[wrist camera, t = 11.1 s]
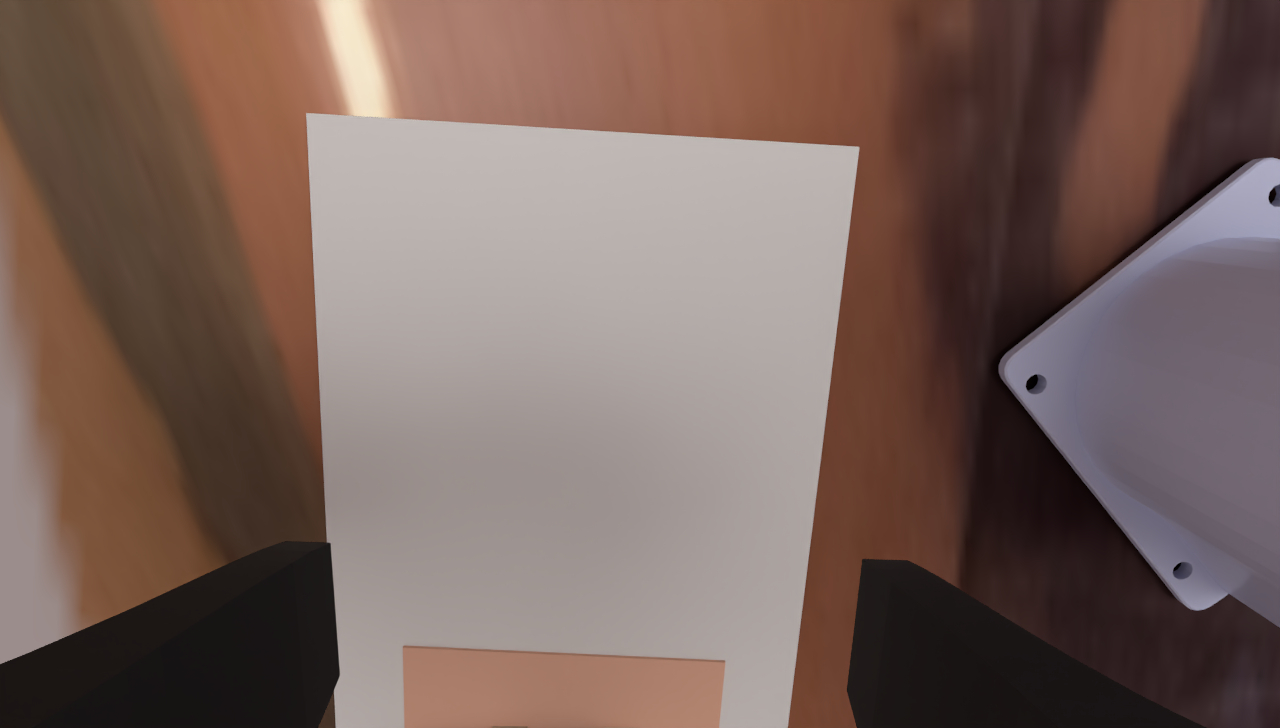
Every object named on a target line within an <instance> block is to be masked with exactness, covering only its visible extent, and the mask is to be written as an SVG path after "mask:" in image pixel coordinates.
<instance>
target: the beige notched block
mask: <svg viewBox="0 0 1280 728" xmlns="http://www.w3.org/2000/svg"><path fill="white" fill-rule="evenodd" d="M492 728H528V726H492ZM604 728H619V727H604Z"/></svg>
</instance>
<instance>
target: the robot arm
mask: <svg viewBox="0 0 1280 728" xmlns="http://www.w3.org/2000/svg"><path fill="white" fill-rule="evenodd" d="M1273 187H1274V188H1275V190H1276V197H1275V200H1274V201H1273V202H1272V203H1271V204H1270V202H1269V199H1268V197H1269V193H1270V191H1271V190H1272V189H1273ZM1035 374H1037V376H1038V382H1037V385H1036V386H1035V387H1034V388H1033V389H1030V390H1027V389H1026V382H1027V380H1028V379H1029V378H1030V377H1031V376H1033V375H1035ZM999 375H1000V377H1001V379H1002V380H1003V382H1004V383H1005V384H1006V385H1007V387H1008V388H1009V389H1010V390H1011V392H1012V393H1013V394H1014V395H1015V397H1016V398H1017V399H1018V400H1019V402H1020V403H1021V404H1022V405H1023V407H1024V408H1025V409H1026V410H1027V412H1028V413H1029V414H1030V416H1031V417H1032V418H1033V419H1034V421H1035V422H1036V423H1037V424H1038V426H1039V427H1040V428H1041V429H1042V431H1043V432H1044V433H1045V434H1046V436H1047V437H1048V438H1049V439H1050V441H1051V442H1052V443H1053V444H1054V446H1055V447H1056V448H1057V449H1058V451H1059V452H1060V453H1061V454H1062V456H1063V457H1064V458H1065V459H1066V461H1067V462H1068V463H1069V464H1070V466H1071V467H1072V468H1073V469H1074V471H1075V472H1076V473H1077V474H1078V476H1079V477H1080V478H1081V480H1082V481H1083V482H1084V483H1085V485H1086V486H1087V487H1088V488H1089V490H1090V491H1091V492H1092V493H1093V495H1094V496H1095V497H1096V498H1097V500H1098V501H1099V502H1100V503H1101V505H1102V506H1103V507H1104V508H1105V510H1106V511H1107V512H1108V513H1109V515H1110V516H1111V517H1112V518H1113V520H1114V521H1115V522H1116V523H1117V525H1118V526H1119V527H1120V528H1121V530H1122V531H1123V532H1124V533H1125V535H1126V536H1127V537H1128V538H1129V540H1130V541H1131V542H1132V544H1133V545H1134V546H1135V547H1136V549H1137V550H1138V551H1139V552H1140V554H1141V555H1142V556H1143V557H1144V559H1145V560H1146V561H1147V562H1148V564H1149V565H1150V566H1151V567H1152V569H1153V570H1154V571H1155V572H1156V574H1157V575H1158V576H1159V577H1160V579H1161V580H1162V581H1163V582H1164V584H1165V585H1166V586H1167V587H1168V589H1169V590H1170V591H1171V592H1172V594H1173V595H1174V596H1175V597H1176V599H1177V600H1179V601H1180V602H1181V603H1182V604H1184V605H1185V606H1186V607H1188V608H1189V609H1192V610H1196V611H1197V610H1204V609H1206V608H1208V607H1210V606H1212V605H1213V604H1215V603H1216V602H1218V601H1219V600H1221V599H1222V598H1224V597H1225V596H1226V595H1228V594H1230V595H1232V596H1233V597H1235V598H1236V599H1238V600H1239V601H1241V602H1242V603H1244V604H1245V605H1247V606H1248V607H1250V608H1251V609H1253V610H1254V611H1256V612H1257V613H1259V614H1260V615H1262V616H1263V617H1265V618H1266V619H1267V620H1269V621H1270V622H1272V623H1273V624H1275V625H1276V626H1278V627H1279V628H1280V160H1279V159H1276V158H1260V159H1254V160H1252V161H1250V162H1248V163H1246V164H1245V165H1244V166H1242V167H1241V168H1240V169H1239V170H1237V171H1236V172H1235V173H1233V174H1232V175H1231V176H1230V177H1228V178H1227V179H1226V180H1225V181H1223V182H1222V183H1221V184H1220V185H1218V186H1217V187H1216V188H1215V189H1213V190H1212V191H1211V192H1209V193H1208V194H1207V195H1206V196H1204V197H1203V198H1202V199H1201V200H1199V201H1198V202H1197V203H1196V204H1194V205H1193V206H1192V207H1190V208H1189V209H1188V210H1187V211H1185V212H1184V213H1183V214H1182V215H1180V216H1179V217H1178V218H1177V219H1175V220H1174V221H1173V222H1171V223H1170V224H1169V225H1168V226H1166V227H1165V228H1164V229H1163V230H1161V231H1160V232H1159V233H1158V234H1156V235H1155V236H1154V237H1152V238H1151V239H1150V240H1149V241H1147V242H1146V243H1145V244H1144V245H1142V246H1141V247H1140V248H1139V249H1137V250H1136V251H1135V252H1134V253H1132V254H1131V255H1130V256H1128V257H1127V258H1126V259H1125V260H1123V261H1122V262H1121V263H1120V264H1118V265H1117V266H1116V267H1115V268H1113V269H1112V270H1111V271H1109V272H1108V273H1107V274H1106V275H1104V276H1103V277H1102V278H1101V279H1099V280H1098V281H1097V282H1096V283H1094V284H1093V285H1092V286H1090V287H1089V288H1088V289H1087V290H1085V291H1084V292H1083V293H1082V294H1080V295H1079V296H1078V297H1077V298H1075V299H1074V300H1073V301H1071V302H1070V303H1069V304H1068V305H1066V306H1065V307H1064V308H1063V309H1061V310H1060V311H1059V312H1058V313H1056V314H1055V315H1054V316H1053V317H1051V318H1050V319H1049V320H1047V321H1046V322H1045V323H1044V324H1042V325H1041V326H1040V327H1039V328H1037V329H1036V330H1035V331H1034V332H1032V333H1031V334H1030V335H1028V336H1027V337H1026V338H1025V339H1023V340H1022V341H1021V342H1020V343H1018V344H1017V345H1016V346H1015V347H1013V348H1012V349H1011V350H1009V351H1008V352H1007V353H1006V354H1005V355H1004V356H1003V357H1002V359H1001V361H1000V363H999ZM1179 563H1181V566H1180V567H1179V568H1178V569H1177V570H1176V571H1173V569H1174V567H1175V566H1176V565H1177V564H1179ZM339 677H340V668H339V654H338V640H337V626H336V612H335V598H334V584H333V570H332V556H331V543H323V542H290V541H285V542H282V543H279V544H276V545H273V546H270V547H267V548H264V549H262V550H259V551H257V552H255V553H252V554H250V555H247V556H245V557H243V558H241V559H238V560H236V561H234V562H232V563H229V564H227V565H225V566H223V567H220V568H218V569H216V570H214V571H212V572H210V573H207V574H205V575H203V576H201V577H199V578H197V579H194V580H192V581H190V582H188V583H186V584H184V585H181V586H179V587H177V588H175V589H173V590H171V591H168V592H166V593H164V594H162V595H160V596H158V597H156V598H153V599H151V600H149V601H147V602H145V603H143V604H140V605H138V606H136V607H134V608H132V609H129V610H127V611H125V612H123V613H120V614H118V615H116V616H113V617H111V618H109V619H106V620H104V621H102V622H99V623H97V624H95V625H92V626H90V627H88V628H85V629H83V630H81V631H79V632H76V633H74V634H72V635H69V636H67V637H65V638H62V639H60V640H58V641H55V642H53V643H51V644H48V645H46V646H44V647H41V648H39V649H37V650H34V651H32V652H30V653H27V654H25V655H22V656H20V657H17V658H15V659H12V660H10V661H7V662H5V663H2V664H0V728H318V726H319V724H320V722H321V719H322V717H323V715H324V713H325V710H326V708H327V706H328V703H329V701H330V698H331V696H332V694H333V691H334V689H335V686H336V684H337V682H338V679H339ZM847 692H848V696H849V700H850V703H851V707H852V711H853V715H854V718H855V722H856V726H857V728H1206V727H1204V726H1202V725H1199V724H1197V723H1195V722H1193V721H1191V720H1189V719H1187V718H1185V717H1183V716H1181V715H1179V714H1176V713H1174V712H1172V711H1170V710H1168V709H1166V708H1164V707H1162V706H1160V705H1159V704H1157V703H1155V702H1153V701H1151V700H1149V699H1147V698H1145V697H1143V696H1141V695H1139V694H1137V693H1135V692H1133V691H1132V690H1130V689H1128V688H1126V687H1124V686H1122V685H1121V684H1119V683H1117V682H1115V681H1113V680H1112V679H1110V678H1108V677H1106V676H1104V675H1103V674H1101V673H1099V672H1097V671H1095V670H1093V669H1092V668H1090V667H1088V666H1086V665H1084V664H1083V663H1081V662H1079V661H1077V660H1075V659H1074V658H1072V657H1070V656H1069V655H1067V654H1065V653H1063V652H1062V651H1060V650H1058V649H1057V648H1055V647H1053V646H1051V645H1050V644H1048V643H1046V642H1045V641H1043V640H1041V639H1040V638H1038V637H1036V636H1035V635H1033V634H1031V633H1030V632H1028V631H1026V630H1025V629H1023V628H1021V627H1020V626H1018V625H1016V624H1015V623H1013V622H1012V621H1010V620H1008V619H1007V618H1005V617H1003V616H1002V615H1000V614H999V613H997V612H995V611H994V610H992V609H990V608H989V607H987V606H986V605H984V604H982V603H981V602H979V601H977V600H976V599H974V598H973V597H971V596H969V595H968V594H966V593H965V592H963V591H961V590H960V589H958V588H956V587H955V586H953V585H951V584H950V583H948V582H946V581H945V580H943V579H941V578H940V577H938V576H936V575H935V574H933V573H931V572H929V571H928V570H926V569H924V568H922V567H920V566H918V565H916V564H914V563H912V562H910V561H907V560H875V559H862V567H861V576H860V584H859V593H858V601H857V609H856V618H855V626H854V635H853V643H852V651H851V660H850V668H849V677H848V685H847Z"/></svg>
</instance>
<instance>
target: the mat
mask: <svg viewBox="0 0 1280 728" xmlns="http://www.w3.org/2000/svg"><path fill="white" fill-rule="evenodd" d="M306 118H307V138H308V159H309V180H310V201H311V222H312V242H313V263H314V284H315V305H316V326H317V346H318V367H319V388H320V409H321V429H322V450H323V471H324V492H325V513H326V533H327V543H331V556H332V570H333V584H334V598H335V612H336V626H337V640H338V654H339V668H340V677H339V679H338V682H337V684H336V686H335V689H334V700H335V720H336V728H492V726H528V728H604V727H619V728H788V721H789V712H790V704H791V696H792V688H793V680H794V672H795V664H796V656H797V648H798V640H799V632H800V623H801V615H802V607H803V599H804V591H805V583H806V575H807V567H808V559H809V551H810V543H811V535H812V526H813V518H814V510H815V502H816V494H817V486H818V478H819V470H820V462H821V454H822V446H823V437H824V429H825V421H826V413H827V405H828V397H829V389H830V381H831V373H832V365H833V357H834V348H835V340H836V332H837V324H838V316H839V308H840V300H841V292H842V284H843V276H844V268H845V260H846V251H847V243H848V235H849V227H850V219H851V211H852V203H853V195H854V187H855V179H856V171H857V162H858V154H859V147H853V146H837V145H821V144H804V143H788V142H771V141H755V140H739V139H722V138H706V137H690V136H673V135H657V134H640V133H624V132H608V131H591V130H575V129H559V128H542V127H526V126H509V125H493V124H477V123H460V122H444V121H428V120H411V119H395V118H378V117H362V116H346V115H329V114H313V113H306Z"/></svg>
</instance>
